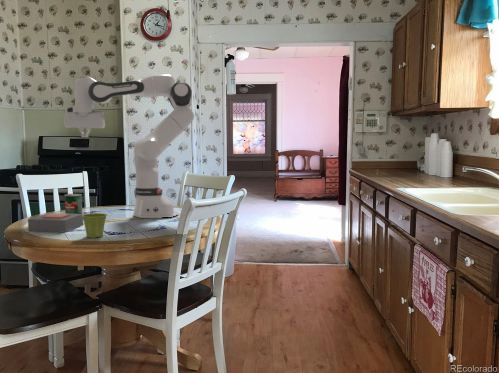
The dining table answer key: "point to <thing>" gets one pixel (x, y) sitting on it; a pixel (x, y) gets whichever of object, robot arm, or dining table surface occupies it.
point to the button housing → (55, 223)
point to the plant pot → (94, 224)
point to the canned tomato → (73, 203)
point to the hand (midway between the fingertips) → (84, 137)
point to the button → (56, 216)
